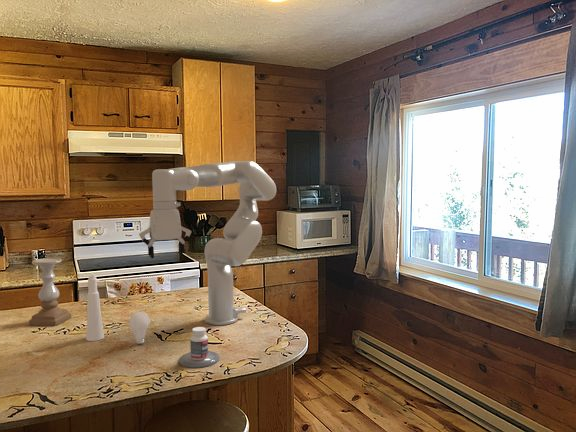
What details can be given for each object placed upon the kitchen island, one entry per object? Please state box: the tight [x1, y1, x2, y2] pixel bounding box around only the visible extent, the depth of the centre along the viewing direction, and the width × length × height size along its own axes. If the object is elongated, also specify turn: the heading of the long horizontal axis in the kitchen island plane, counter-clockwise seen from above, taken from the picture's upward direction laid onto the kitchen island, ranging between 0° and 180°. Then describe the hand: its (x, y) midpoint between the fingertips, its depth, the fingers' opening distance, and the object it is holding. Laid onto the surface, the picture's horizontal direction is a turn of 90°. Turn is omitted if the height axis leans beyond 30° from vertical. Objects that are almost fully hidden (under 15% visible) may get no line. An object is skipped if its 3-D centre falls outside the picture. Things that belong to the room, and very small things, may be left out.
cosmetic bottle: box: [85, 274, 105, 342], centre depth 166 cm, size 6×6×22 cm
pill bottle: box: [189, 326, 209, 360], centre depth 146 cm, size 5×5×9 cm
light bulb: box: [128, 310, 151, 345], centre depth 160 cm, size 7×7×11 cm
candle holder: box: [28, 257, 72, 327], centre depth 185 cm, size 11×11×24 cm
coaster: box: [178, 350, 220, 369], centre depth 147 cm, size 12×12×1 cm
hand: (166, 256), depth 164 cm, fingers open, 9 cm apart
